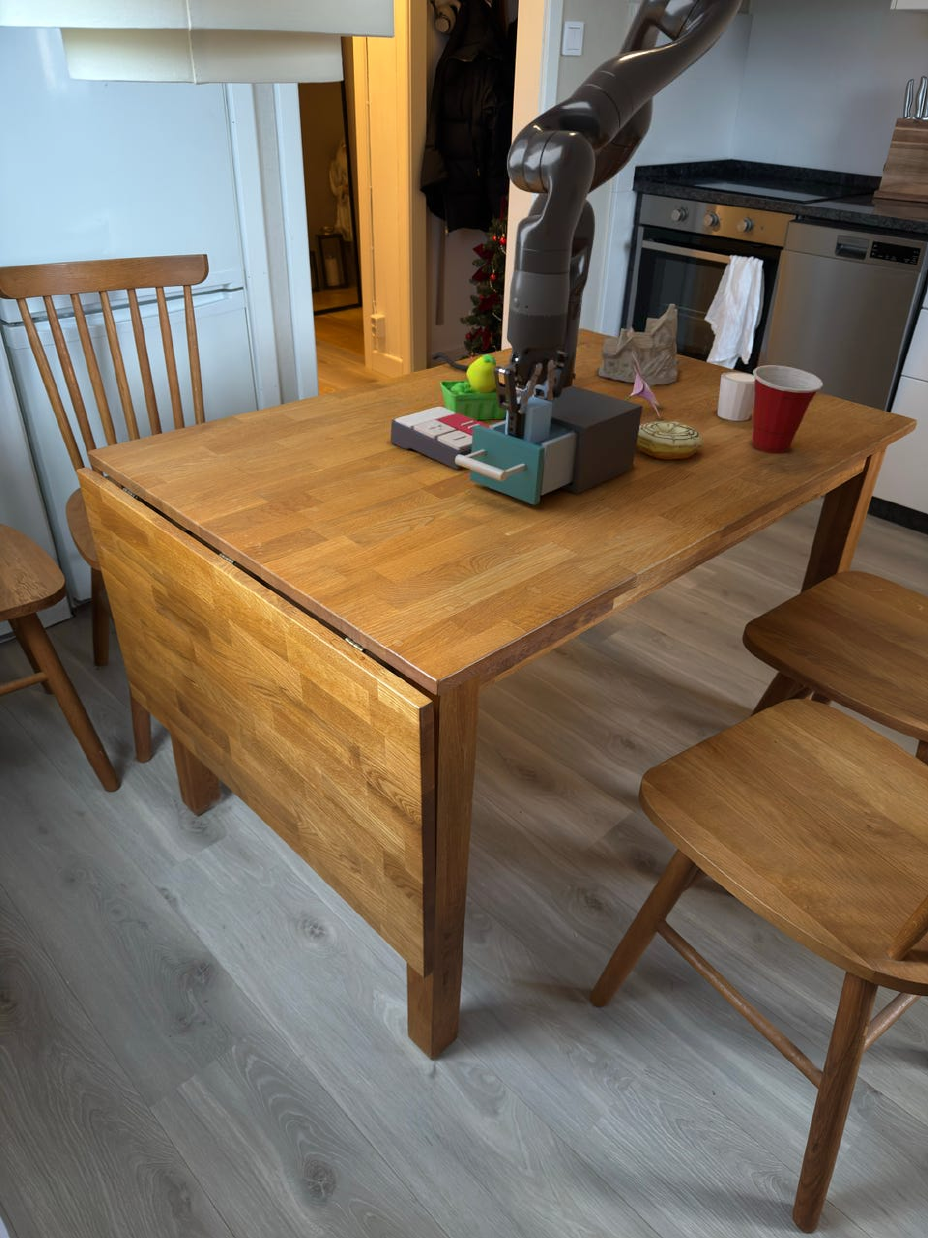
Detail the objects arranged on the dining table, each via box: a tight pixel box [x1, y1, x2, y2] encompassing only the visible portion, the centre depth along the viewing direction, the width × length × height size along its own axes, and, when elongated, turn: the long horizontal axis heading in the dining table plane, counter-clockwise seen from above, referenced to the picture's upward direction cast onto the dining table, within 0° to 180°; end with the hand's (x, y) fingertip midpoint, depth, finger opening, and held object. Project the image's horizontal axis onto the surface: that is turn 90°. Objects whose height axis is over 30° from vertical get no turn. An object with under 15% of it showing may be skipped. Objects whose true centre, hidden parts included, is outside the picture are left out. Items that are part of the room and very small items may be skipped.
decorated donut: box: [636, 420, 704, 461], centre depth 143 cm, size 10×11×4 cm
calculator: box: [390, 406, 490, 471], centre depth 139 cm, size 11×4×15 cm
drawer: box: [455, 419, 580, 506], centre depth 125 cm, size 19×12×8 cm, turn 138°
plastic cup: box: [752, 364, 824, 453], centre depth 145 cm, size 11×11×12 cm
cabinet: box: [550, 384, 643, 495], centre depth 133 cm, size 15×13×10 cm
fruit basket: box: [439, 353, 508, 421], centre depth 151 cm, size 11×9×11 cm
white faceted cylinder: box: [717, 371, 755, 422], centre depth 159 cm, size 7×7×7 cm
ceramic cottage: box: [598, 303, 680, 386], centre depth 178 cm, size 16×16×15 cm
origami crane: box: [624, 353, 661, 418], centre depth 158 cm, size 12×12×10 cm
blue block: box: [505, 396, 552, 443], centre depth 122 cm, size 4×4×5 cm
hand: (527, 433), depth 123 cm, fingers open, 4 cm apart
